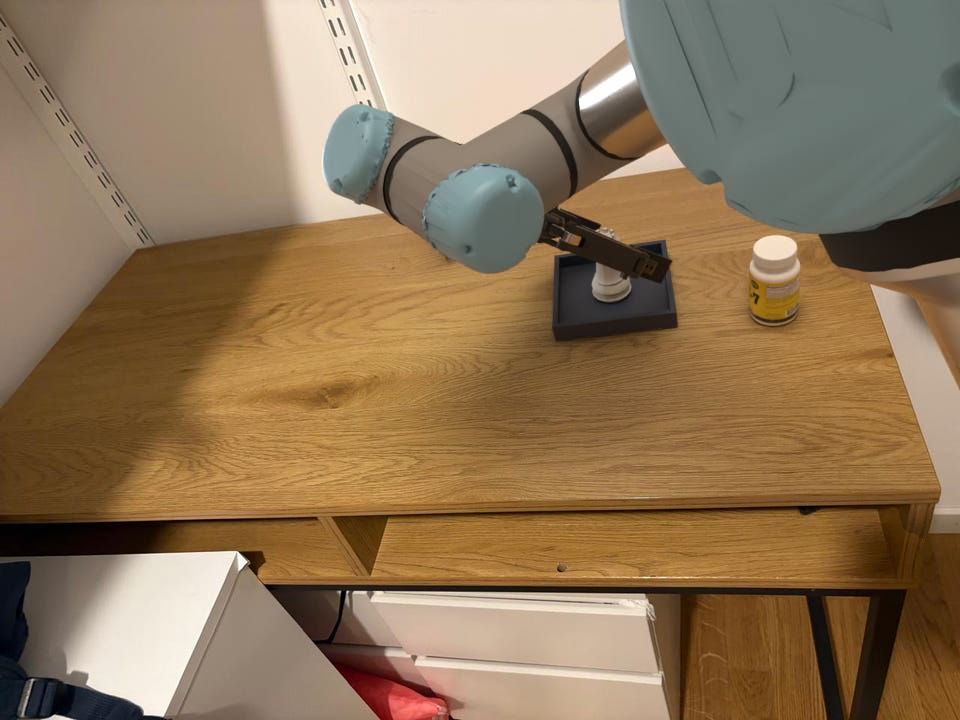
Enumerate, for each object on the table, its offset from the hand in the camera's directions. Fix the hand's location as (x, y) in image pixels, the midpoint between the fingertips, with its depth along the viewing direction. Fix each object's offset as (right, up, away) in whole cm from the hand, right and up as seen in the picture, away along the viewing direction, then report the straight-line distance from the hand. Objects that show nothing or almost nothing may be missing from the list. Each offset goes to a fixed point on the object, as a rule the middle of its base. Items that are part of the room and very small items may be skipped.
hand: (627, 251), depth 83 cm
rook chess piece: (-1, -4, +2) cm, 5 cm away
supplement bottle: (+14, -7, -6) cm, 17 cm away
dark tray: (-1, -5, +2) cm, 5 cm away
